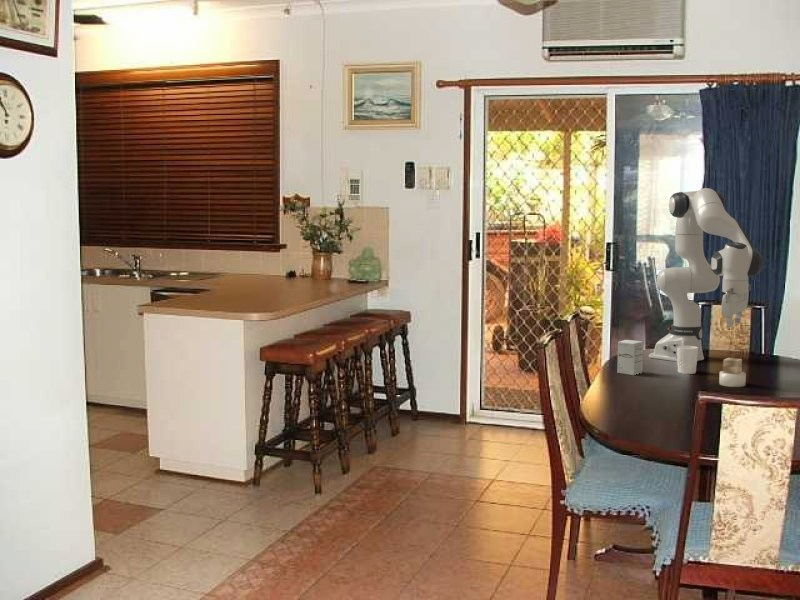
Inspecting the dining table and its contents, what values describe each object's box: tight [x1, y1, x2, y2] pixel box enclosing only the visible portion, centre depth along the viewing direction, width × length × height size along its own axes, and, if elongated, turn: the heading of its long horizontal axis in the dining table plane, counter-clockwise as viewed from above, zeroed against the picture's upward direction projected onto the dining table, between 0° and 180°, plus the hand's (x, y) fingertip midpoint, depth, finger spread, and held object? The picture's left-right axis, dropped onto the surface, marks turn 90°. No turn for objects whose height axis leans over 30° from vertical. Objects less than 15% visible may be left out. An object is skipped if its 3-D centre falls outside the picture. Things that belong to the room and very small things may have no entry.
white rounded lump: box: [718, 370, 747, 388], centre depth 321 cm, size 9×9×4 cm
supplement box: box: [617, 339, 644, 376], centre depth 344 cm, size 7×7×13 cm
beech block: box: [722, 357, 743, 375], centre depth 320 cm, size 5×5×5 cm
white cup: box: [676, 346, 698, 375], centre depth 343 cm, size 8×8×10 cm
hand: (733, 324), depth 321 cm, fingers open, 8 cm apart
